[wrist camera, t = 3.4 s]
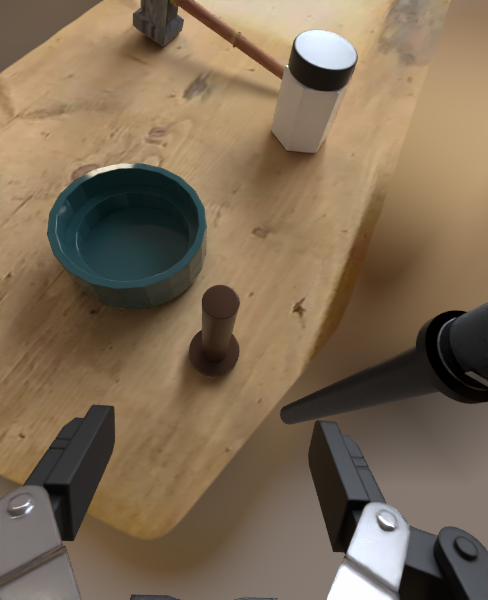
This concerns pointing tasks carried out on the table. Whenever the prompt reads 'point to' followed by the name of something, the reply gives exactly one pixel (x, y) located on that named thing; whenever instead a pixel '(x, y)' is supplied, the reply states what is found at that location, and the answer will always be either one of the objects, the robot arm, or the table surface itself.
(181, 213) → the bowl
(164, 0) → the hammer
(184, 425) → the table surface
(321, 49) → the jar
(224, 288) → the brown flanged rod
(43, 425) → the table surface
